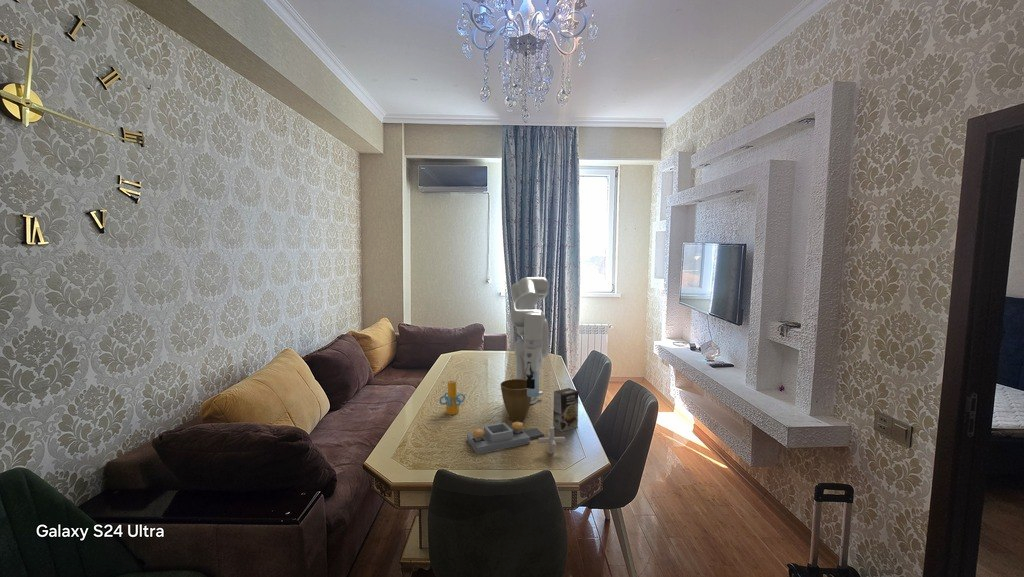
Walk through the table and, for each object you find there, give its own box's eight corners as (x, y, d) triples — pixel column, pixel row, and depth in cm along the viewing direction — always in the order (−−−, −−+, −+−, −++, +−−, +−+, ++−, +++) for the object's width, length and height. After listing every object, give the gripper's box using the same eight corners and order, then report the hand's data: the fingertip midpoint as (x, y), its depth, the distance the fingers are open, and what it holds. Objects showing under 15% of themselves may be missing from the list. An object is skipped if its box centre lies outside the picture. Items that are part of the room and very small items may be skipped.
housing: (516, 430, 186) (516, 418, 185) (529, 443, 174) (530, 430, 174) (467, 440, 177) (466, 427, 176) (477, 454, 165) (477, 440, 165)
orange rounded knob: (481, 438, 175) (481, 428, 174) (485, 443, 171) (485, 432, 170) (471, 440, 173) (470, 430, 173) (474, 445, 169) (474, 434, 169)
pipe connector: (536, 447, 171) (536, 422, 170) (561, 446, 172) (562, 421, 171) (540, 459, 161) (540, 433, 160) (567, 458, 162) (567, 432, 161)
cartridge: (540, 393, 181) (540, 363, 180) (536, 397, 177) (537, 366, 176) (529, 392, 183) (529, 362, 182) (525, 396, 179) (525, 365, 177)
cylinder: (459, 418, 199) (458, 386, 197) (437, 416, 201) (436, 384, 199) (467, 408, 211) (466, 378, 209) (446, 406, 213) (446, 376, 211)
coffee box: (561, 432, 184) (562, 395, 183) (552, 426, 190) (553, 390, 188) (578, 427, 189) (579, 391, 187) (569, 422, 195) (569, 387, 193)
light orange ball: (519, 431, 182) (520, 421, 181) (524, 435, 178) (524, 425, 177) (510, 433, 180) (510, 422, 179) (514, 437, 176) (514, 427, 175)
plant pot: (529, 410, 208) (529, 377, 207) (536, 423, 194) (536, 388, 192) (498, 412, 206) (498, 379, 204) (503, 425, 191) (503, 390, 189)
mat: (536, 430, 186) (536, 427, 186) (544, 436, 180) (544, 434, 180) (521, 432, 184) (521, 430, 183) (528, 439, 177) (528, 437, 177)
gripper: (535, 348, 169) (535, 394, 170) (547, 339, 184) (547, 381, 186) (517, 346, 171) (517, 391, 173) (530, 338, 187) (530, 379, 189)
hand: (532, 385), depth 180 cm, fingers closed on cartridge, 5 cm apart
